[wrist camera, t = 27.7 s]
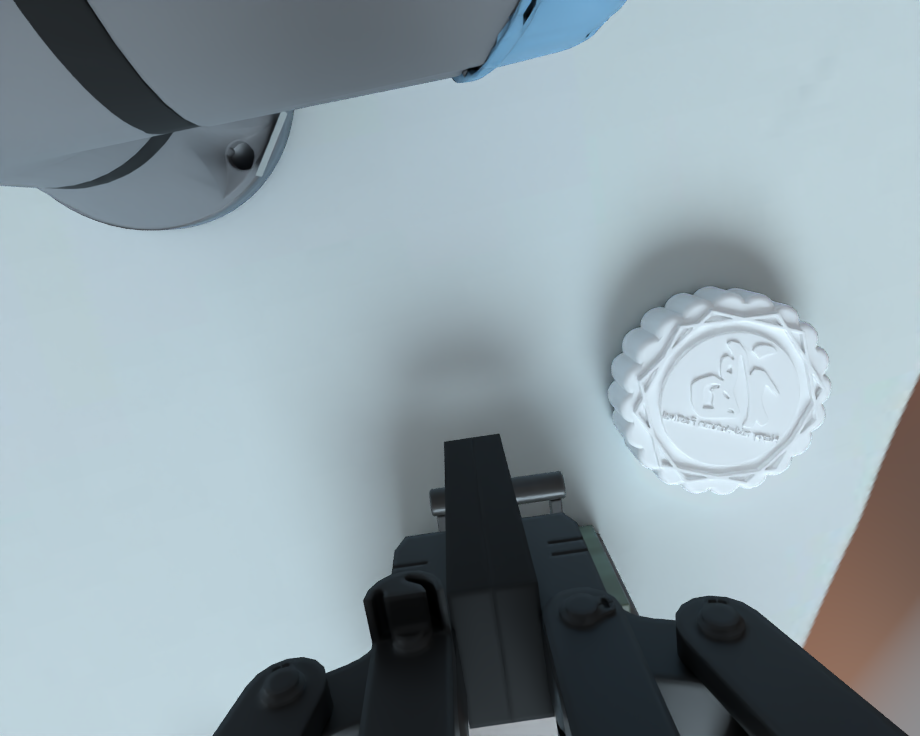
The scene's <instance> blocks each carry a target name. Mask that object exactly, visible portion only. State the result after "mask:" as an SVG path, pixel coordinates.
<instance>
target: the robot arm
mask: <svg viewBox="0 0 920 736" xmlns="http://www.w3.org/2000/svg"><path fill="white" fill-rule="evenodd" d="M626 1H627V0H0V186H13V187H31V188H38V189H39V190H41V191H43V192H45V193H47V194H48V195H50V196H51V197H52V198H54V199H55V200H57V201H58V202H60V203H61V204H63V205H65V206H66V207H68V208H69V209H71V210H73V211H75V212H77V213H79V214H81V215H83V216H86V217H88V218H91V219H93V220H96V221H98V222H102V223H105V224H108V225H111V226H116V227H121V228H126V229H135V230H169V229H181V228H188V227H193V226H198V225H201V224H204V223H207V222H211V221H213V220H215V219H218V218H220V217H222V216H224V215H226V214H228V213H229V212H231V211H233V210H235V209H236V208H237V207H239V206H240V205H242V204H243V203H244V202H246V201H247V200H248V199H249V198H250V197H251V196H252V195H253V194H255V193H256V191H257V190H258V189H259V188H260V187H261V186H262V185H263V184H264V182H265V181H266V180H267V178H268V177H269V176H270V174H271V173H272V171H273V170H274V168H275V166H276V164H277V163H278V161H279V159H280V157H281V155H282V152H283V150H284V148H285V145H286V142H287V139H288V136H289V133H290V129H291V124H292V120H293V113H294V109H299V108H304V107H309V106H314V105H319V104H324V103H329V102H334V101H339V100H344V99H349V98H354V97H358V96H363V95H368V94H373V93H378V92H383V91H388V90H393V89H398V88H403V87H408V86H413V85H418V84H423V83H428V82H433V81H437V80H442V79H447V78H452V79H453V80H454V81H455V82H457V83H464V82H471V81H475V80H478V79H480V78H482V77H484V76H485V75H487V74H488V73H490V72H491V71H493V70H494V69H495V68H497V67H501V66H505V65H509V64H513V63H517V62H521V61H524V60H528V59H532V58H536V57H540V56H544V55H548V54H552V53H556V52H560V51H563V50H566V49H569V48H572V47H574V46H576V45H578V44H580V43H582V42H584V41H586V40H587V39H589V38H590V37H591V36H593V35H594V34H595V33H596V32H597V30H598V29H599V28H600V27H601V26H602V25H603V24H604V22H606V21H607V20H608V19H609V17H610V16H612V15H613V14H615V13H616V12H617V11H619V9H620V8H621V7H622V6H623V4H624V3H625V2H626ZM444 462H445V530H446V531H442V532H435V533H428V534H422V535H415V536H408V537H405V538H404V540H403V541H402V542H401V543H400V545H399V546H398V547H397V549H396V550H395V552H394V560H393V569H392V575H389V576H388V577H386V578H384V579H382V580H380V581H378V582H377V583H376V584H375V585H374V586H372V587H371V588H370V589H369V590H368V592H367V594H366V596H365V598H364V600H363V602H364V607H365V611H366V616H367V620H368V625H369V630H370V634H371V639H372V649H371V650H370V651H369V652H368V653H367V654H365V655H364V656H363V657H361V658H360V659H358V660H356V661H354V662H352V663H350V664H348V665H346V666H343V667H341V668H338V669H335V670H333V671H330V672H328V673H325V669H324V667H323V666H322V665H321V664H320V663H319V662H317V661H316V660H314V659H309V658H305V657H300V658H291V659H286V660H283V661H281V662H278V663H276V664H273V665H271V666H269V667H268V668H266V669H265V670H263V671H262V672H260V673H259V674H257V675H256V676H255V678H254V679H253V680H252V681H251V682H250V683H249V684H248V685H247V686H246V687H245V689H244V690H243V692H242V693H241V695H240V696H239V698H238V699H237V701H236V702H235V704H234V705H233V707H232V708H231V709H230V711H229V712H228V714H227V715H226V717H225V718H224V720H223V721H222V723H221V724H220V726H219V727H218V728H217V730H216V731H215V733H214V734H213V736H469V727H470V729H473V728H480V727H487V726H494V725H501V724H508V723H515V722H522V721H529V720H536V719H543V718H550V717H556V724H557V732H558V736H908V735H907V734H906V733H905V732H904V731H902V730H901V729H900V728H899V727H897V726H896V725H895V724H894V723H893V722H891V721H890V720H889V719H888V718H886V717H885V716H884V715H883V714H882V713H880V712H879V711H878V710H877V709H876V708H874V707H873V706H872V705H871V704H870V703H868V702H867V701H866V700H865V699H863V698H862V697H861V696H860V695H858V694H857V693H856V692H855V691H854V690H853V689H851V688H850V687H849V686H848V685H846V684H845V683H844V682H843V681H842V680H840V679H839V678H838V677H837V676H836V675H834V674H833V673H832V672H831V671H829V670H828V669H827V668H826V667H825V666H823V665H822V664H821V663H820V662H818V661H817V660H816V659H815V658H814V657H812V656H811V655H810V654H809V653H808V652H806V651H805V650H804V649H803V648H801V647H800V646H799V645H798V644H797V643H795V642H794V641H793V640H792V639H791V638H789V637H788V636H787V635H786V634H784V633H783V632H782V631H781V630H780V629H778V628H777V627H776V626H775V625H774V624H772V623H771V622H770V621H769V620H767V619H766V618H765V617H764V616H763V615H761V614H760V613H759V612H758V611H756V610H755V609H753V608H751V607H750V606H748V605H746V604H745V603H743V602H740V601H737V600H734V599H731V598H727V597H719V596H704V597H699V598H693V599H691V600H690V601H688V602H686V603H684V604H682V605H681V607H680V608H679V610H678V611H677V613H676V620H665V619H653V618H647V617H642V616H638V615H635V614H632V613H629V612H627V611H626V610H624V609H623V607H622V605H621V604H620V603H619V602H618V600H617V599H616V598H615V597H614V596H612V595H610V594H608V593H607V592H606V589H605V587H604V585H603V582H602V580H601V578H600V575H599V573H598V571H597V568H596V566H595V564H594V561H593V559H592V557H591V554H590V552H589V551H588V547H587V545H586V543H585V541H584V539H583V536H582V534H581V531H580V529H579V527H578V524H577V523H576V522H575V521H574V520H572V519H571V518H570V517H568V516H567V515H566V514H564V513H563V512H561V513H554V514H547V515H540V516H533V517H527V518H521V515H520V511H519V507H518V503H517V500H516V496H515V492H514V488H513V484H512V480H511V476H510V473H509V469H508V465H507V461H506V457H505V453H504V449H503V445H502V442H501V438H500V434H494V435H487V436H480V437H473V438H466V439H460V440H453V441H446V442H444ZM468 721H469V724H468Z"/></svg>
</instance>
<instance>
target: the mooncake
mask: <svg viewBox="0 0 920 736" xmlns="http://www.w3.org/2000/svg"><path fill="white" fill-rule="evenodd" d="M817 343H818V334H817V331H816V330H815V328H814V327H813V326H812V325H810V324H808V323H806V322H803V321H799V316H798V313H797V311H796V310H795V309H794V308H793V307H791V306H789V305H786V304H783V303H779V302H775V301H772V300H771V299H770V298H769V297H767V296H766V295H763V294H760V293H756V292H752V291H748V290H744V289H740V288H731V289H728V290H724V289H720V288H717V287H712V286H707V287H703V288H701V289H699V290H697V291H696V292H695V293H694V294H693V295H691V294H688V293H679V294H676V295H674V296H672V297H671V298H670V299H669V300H668V301H667V302H666V304H665V307H664V308H663V307H656V308H653V309H651V310H649V311H648V312H646V313H645V315H644V316H643V318H642V320H641V324H640V327H639V328H635V329H633V330H631V331H629V332H628V333H627V334H626V336H625V337H624V339H623V343H622V349H623V353H621V354H619V355H618V356H617V357H616V358H615V359H614V361H613V363H612V366H611V373H612V376H613V378H614V379H615V381H613V382H612V383H611V385H610V387H609V389H608V399H609V401H610V403H611V404H612V406H613V407H614V408H615V410H614V412H613V416H612V419H613V423H614V425H615V427H616V428H617V429H618V431H619V432H620V433H621V434H622V436H623V437H624V440H625V444H626V446H627V447H628V448H629V450H630V451H631V452H632V453H633V455H634V456H635V457H636V458H637V460H638V461H639V462H640V463H641V464H642V465H643V466H644V467H646V468H648V469H652V471H653V472H654V473H655V474H656V475H657V477H658V478H659V479H660V480H661V481H662V482H664V483H666V484H669V485H677V484H680V485H681V486H682V487H683V488H684V489H685V490H686V491H688V492H690V493H695V494H697V493H703V492H705V491H707V490H708V489H709V490H710V491H712V492H713V493H715V494H719V495H725V494H729V493H731V492H733V491H735V490H736V489H737V488H738V486H739V487H742V488H747V489H750V488H754V487H757V486H759V485H760V484H762V483H763V482H764V480H765V479H766V477H767V475H777V474H780V473H782V472H784V471H785V470H786V469H787V468H788V467H789V465H790V463H791V460H792V456H796V455H799V454H802V453H803V452H805V451H806V450H807V449H808V447H809V446H810V444H811V440H812V434H811V432H812V431H814V430H816V429H817V428H819V427H820V426H821V424H822V423H823V421H824V419H825V408H824V406H823V404H822V403H824V402H825V401H826V400H827V399H828V397H829V395H830V393H831V389H832V388H831V382H830V379H829V378H828V377H827V376H826V375H825V372H826V371H827V369H828V366H829V357H828V355H827V353H826V351H825V350H824V349H823V348H821V347H819V346H817Z"/></svg>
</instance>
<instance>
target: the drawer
mask: <svg viewBox="0 0 920 736" xmlns="http://www.w3.org/2000/svg"><path fill="white" fill-rule="evenodd" d="M511 480H512V484H513V488H514V492H515V496H516V500H517V503H518V504H525V503H532V502H539V501H546V500H549V505H550V514H554V513H561V512H563V510H562V500H561V498H565V495H566V492H565V484H564V479H563V475H562V473H561V472H560V471H557V472H550V473H543V474H536V475H529V476H522V477H514V478H511ZM430 505H431V511H432V514H433V516H437V520H438V526H439V532H442V531H446V530H445V487H443V488H436V489H431V490H430ZM579 529H580V531H581V534H582V536H583V539H584V541H585V543H586V545H587V547H588V551H589V552H590V554H591V557H592V559H593V561H594V564H595V566H596V568H597V571H598V573H599V575H600V578H601V580H602V582H603V585H604V587H605V589H606V592H607V593H608V594H610V595H612V596H614V597H615V598H616V599H617V600H618V602H619V603H620V604H621V605H622V607H623V609H624V610H626V611H627V612H629V613H631V610H630V603H629V601H628V599H627V597H626V595H625V593H624V590H623V588H622V586H621V584H620V582H619V580H618V578H617V576H616V574H615V572H614V570H613V568H612V566H611V563H610V561H609V559H608V557H607V555H606V553H605V551H604V549H603V547H602V545H601V543H600V541H599V538H598V536H597V534H596V532H595V530H594V528H593V526H592V525H587V526H580V527H579Z"/></svg>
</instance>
